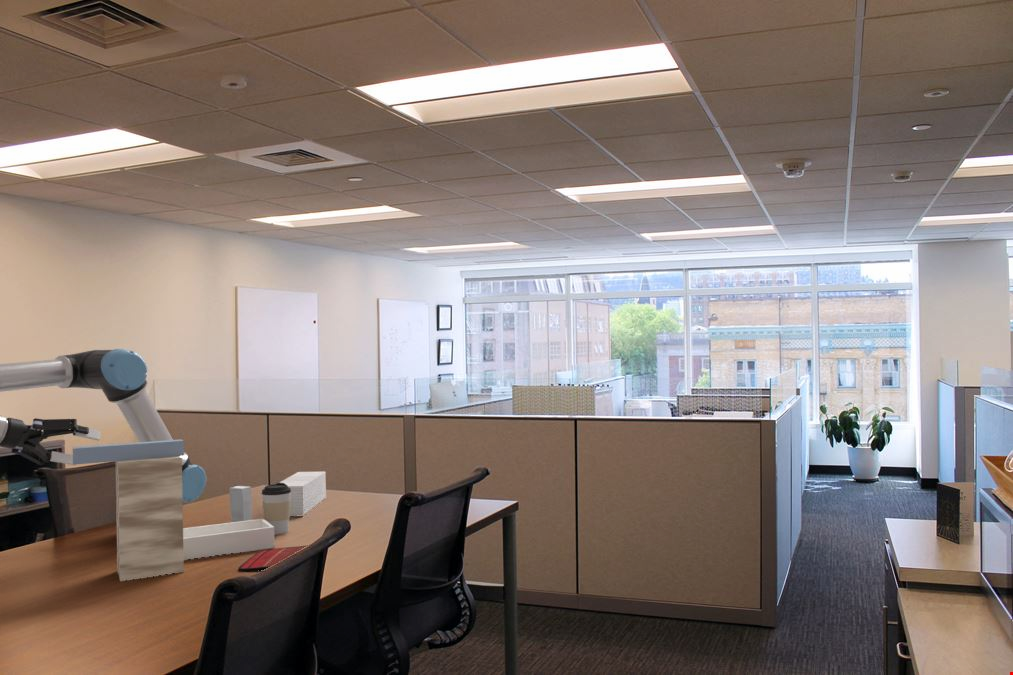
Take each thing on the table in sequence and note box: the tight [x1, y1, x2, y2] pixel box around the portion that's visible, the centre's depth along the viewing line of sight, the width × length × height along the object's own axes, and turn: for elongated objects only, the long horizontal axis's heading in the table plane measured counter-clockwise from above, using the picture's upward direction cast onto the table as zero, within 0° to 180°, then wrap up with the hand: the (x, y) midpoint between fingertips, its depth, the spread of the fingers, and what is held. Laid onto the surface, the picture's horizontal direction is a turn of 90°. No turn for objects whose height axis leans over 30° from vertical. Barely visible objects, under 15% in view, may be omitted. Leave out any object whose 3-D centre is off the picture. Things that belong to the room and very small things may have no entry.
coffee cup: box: [261, 482, 291, 535], centre depth 254 cm, size 9×9×15 cm
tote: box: [183, 518, 276, 561], centre depth 232 cm, size 14×33×6 cm, turn 119°
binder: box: [238, 544, 309, 573], centre depth 220 cm, size 16×2×21 cm
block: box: [72, 438, 185, 466], centre depth 209 cm, size 4×26×4 cm, turn 120°
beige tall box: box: [115, 456, 185, 582], centre depth 211 cm, size 11×15×30 cm
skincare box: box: [229, 485, 254, 523], centre depth 268 cm, size 6×4×12 cm
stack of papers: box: [279, 470, 327, 516], centre depth 293 cm, size 32×11×11 cm, turn 179°
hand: (87, 448), depth 218 cm, fingers open, 13 cm apart
